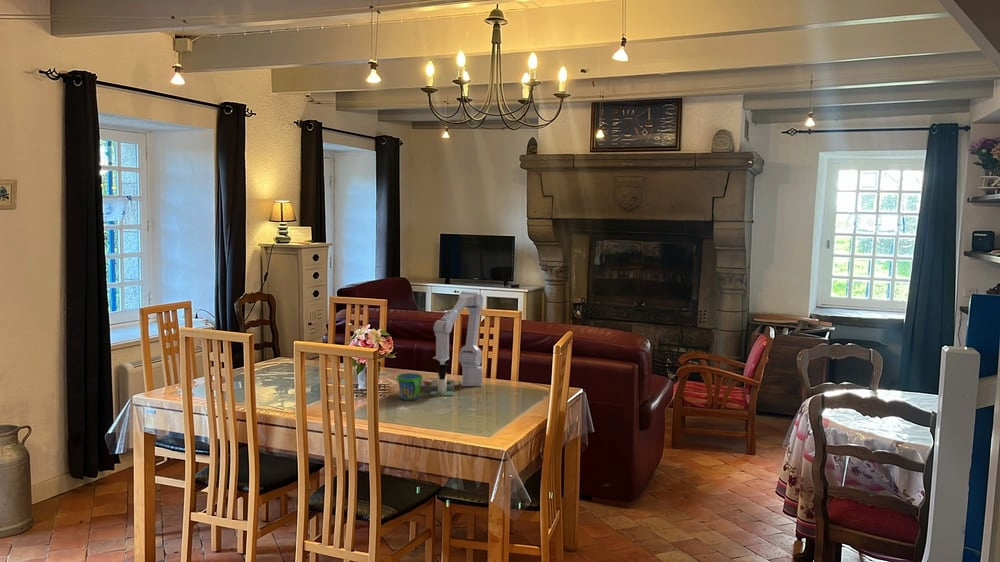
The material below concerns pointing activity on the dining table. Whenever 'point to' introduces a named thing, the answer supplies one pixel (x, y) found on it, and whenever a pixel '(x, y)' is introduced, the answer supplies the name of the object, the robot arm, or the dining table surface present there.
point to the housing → (436, 386)
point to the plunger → (427, 381)
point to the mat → (448, 393)
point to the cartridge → (442, 385)
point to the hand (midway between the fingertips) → (442, 377)
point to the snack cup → (409, 386)
